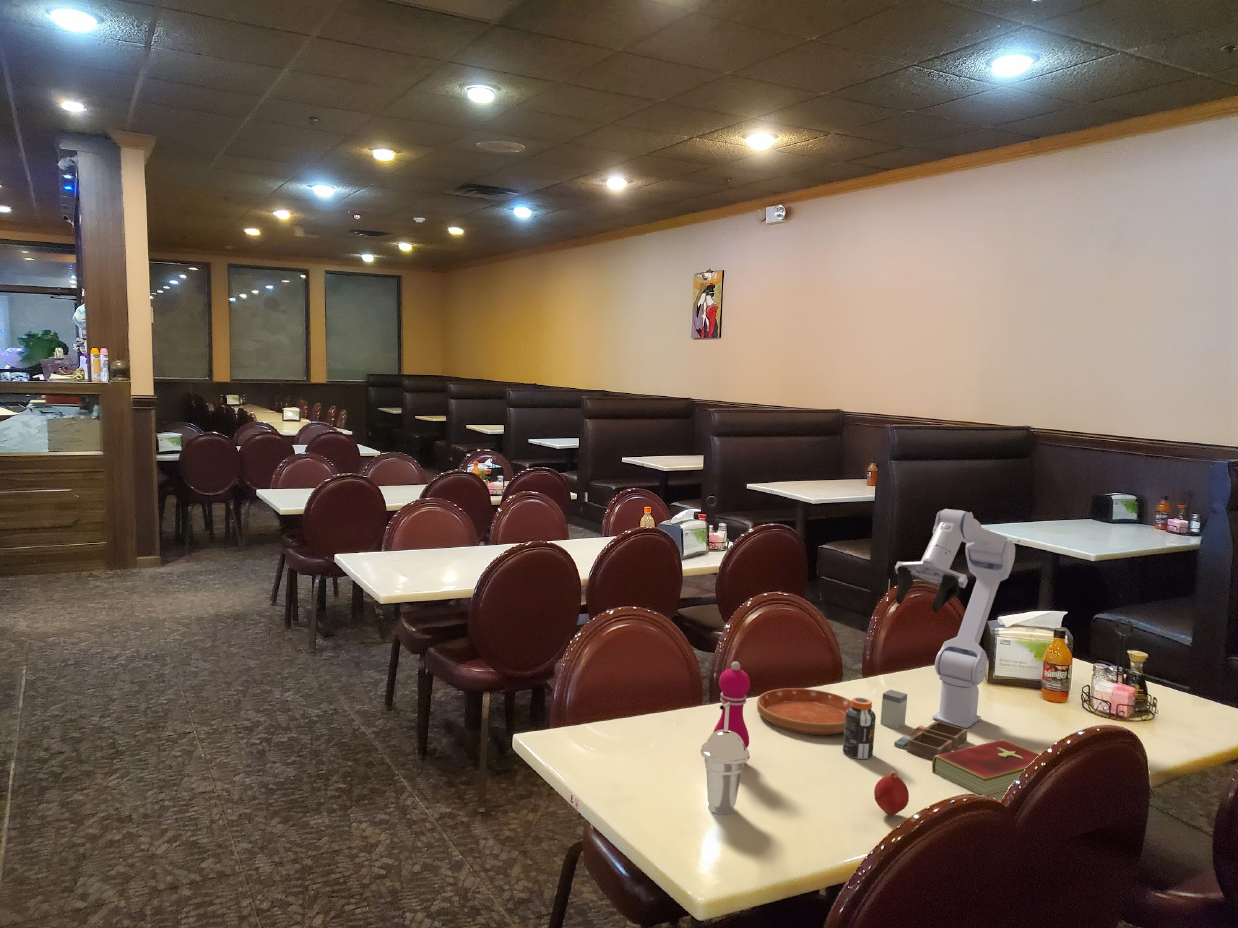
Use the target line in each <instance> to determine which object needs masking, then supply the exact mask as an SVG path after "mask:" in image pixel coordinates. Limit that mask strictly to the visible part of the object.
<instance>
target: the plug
mask: <svg viewBox="0 0 1238 928" xmlns="http://www.w3.org/2000/svg"><path fill="white" fill-rule="evenodd" d="M881 701H882V702H881V712H880V713H881V714H880V723H879V724H880V725H881V726H885V725H886V726H885V727H889V728H893V729H897V730H898V728H899V729H900V728H902V727H903V726H905V725H906V718H907V717H906V716H907V715H906V714H907V705H908V693H905V692H902V691H897V690H894V689H888V690H887V691H885V692H883V693H882V699H881Z"/></svg>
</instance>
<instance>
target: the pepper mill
mask: <svg viewBox="0 0 1238 928" xmlns="http://www.w3.org/2000/svg"><path fill="white" fill-rule="evenodd" d="M718 685H719V688H720V690H721V691H722V692H721V693H720V699H719V700H720V701H721V705H722V704H723V703H725V702H726V701H728V702H729V704H730V709H729V723H728V730H731V731H733V732H735V733H737V734H738V735H739V736H740V737H741V738H742V740H743V742H744V744H745V747H746V748H747V749H748V748H749V745H750V735H749V731H748V729H747V725H746V722H745V720H744V705H745V704H747V694H746V693H747V692H748V691H749V690H750V687H751V680H750V676H749V675H748V674H747V673H746V672H745V671H744V670H742V669H741V663H739V662H738V661H732V663H731V665H730V668H728V669H726V670H724V671H723V672H722V673H721V675H720V676H719V680H718ZM725 708H726V707H725ZM725 708H724V709H723V710H721V715H720V718H719V720H718V722H717V724H716V725H715V727H714V729H713V732H712V733H714V732H716V731H718V730H722V729H724V723H725ZM744 765H746V762H745V763H744Z"/></svg>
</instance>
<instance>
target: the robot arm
mask: <svg viewBox="0 0 1238 928" xmlns="http://www.w3.org/2000/svg"><path fill="white" fill-rule="evenodd" d="M932 534H933V535H932V537H931V538H930V540H929V543H928V545H927V547H926V549H925V552H924V554H923V555H922V558H921V560H920V561H897V562H896V565H895V567H894V570H895V573H896V575H897V590H896V595H895V600H896V603H897V604H898V605H902V604H903V601H904V599H905V598H906V595H907V593H908V592H909V591H910V589H911V588H912V587H913V586H914V584H915V581H914V579H913V576H915V577H917V578H920V579H923V580H925V581H927V582H930V583H932V584H940V586H939V589H938V591H937V594H936V595H935V598H934V600H933V601H932V604H931V605H932V610H933V613H936V614H937V613H938V612H939V611H940V610H941V609H942V608H943V607H944V605H945V604H946V603H948V602H949V601H950V600H951V599H953V598H955V597H957V596H958V595H959V594H960V590H959V589H960V588H961V589H965V588H966V586H967V584H968V582H969V580H968V577H967V574H964V573H960V572H958V571H954V570H952V569H950V568H951V566H952V563H953V561H954V559H955V556H956V555H957V553H958V550H959V549H960V546H961V543H965V557H966V561H967V567H968V571H969V573H970V574H972V576H975V578H976V580H975V581H976V582H975V584H974V586H973V589H972V593H971V596H970V598H969V601H968V604H967V608H966V609H965V612H964V616H963V619H962V621H961V625H960V627H959V630H958V633H957V636H955V637H953V638H950V639H949V640H948V639H947V640H946V641H944V642H943V644H942V646H941V648H940V650H939V651H938V653H937V655H936V657H935V661H934V670H935V673H936V675H938V676H939V680H941V688H940V689H941V690H940V699H939V709H938V710H939V712H937V713H935V714H934V715H933V716H932V719H933V720H936V721H939V722H943V723H946V724H950V725H953V726H957V727H960V728H964V729H968V728H970V727H971V726H972V725H973V724H975V723H976V722H978V721H979V720H980V719H982V716H980V715H978V705H979V693H980V691H979V687H978V686H979V685H980V684H981V683H983V681H984V678H985V676H986V671H987V670H986V669H987V663H988V657H987V653H986V651H985V650H984V649H983V648H982V646H981V645H980V642H981V638H982V636H983V632H984V630H985V627H986V623H987V622H988V621H987V620H988V618H989V614H990V612H991V608H992V605H993V603H994V601H995V600H994V599H995V597H996V595H997V590H998V588H999V585H1000V583H1001V582H1003V581H1005V580H1006V579H1008V578H1009V575H1010V574H1011V571H1012V569H1013V565H1014V562H1015V558H1016V545H1015V543H1014V541H1013V540H1011V539H1008V537H1007V536H1005V535H1002V534H1001V533H1000V534H999V533H997V532H995V531H991V530H989V529H986V528H984V527H982V524H981V522H979V521H978V520H977V519H976V518H974V514H973V512H972V511H970V512H968V511H964V510H962V509H961V510H960V509H948V508H944V509H942V510H939V511H938V512H937V514H936V518H935V522H934V526H933V529H932Z"/></svg>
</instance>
